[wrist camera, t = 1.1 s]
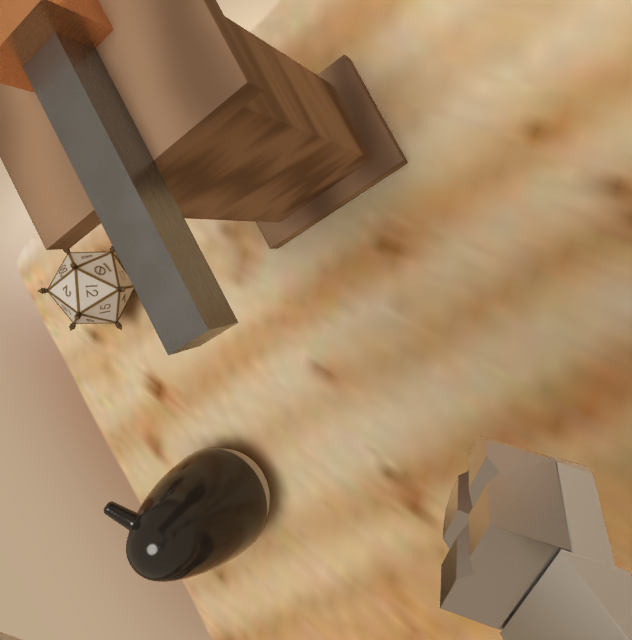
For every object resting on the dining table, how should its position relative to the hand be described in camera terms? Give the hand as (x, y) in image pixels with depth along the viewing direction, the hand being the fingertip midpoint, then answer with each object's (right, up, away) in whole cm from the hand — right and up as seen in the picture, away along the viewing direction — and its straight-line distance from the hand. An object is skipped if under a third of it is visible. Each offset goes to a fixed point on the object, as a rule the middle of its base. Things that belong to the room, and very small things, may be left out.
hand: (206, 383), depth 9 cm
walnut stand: (+1, +15, +43) cm, 45 cm away
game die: (-19, +5, +53) cm, 57 cm away
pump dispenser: (-6, -16, +51) cm, 53 cm away
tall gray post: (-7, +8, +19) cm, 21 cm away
